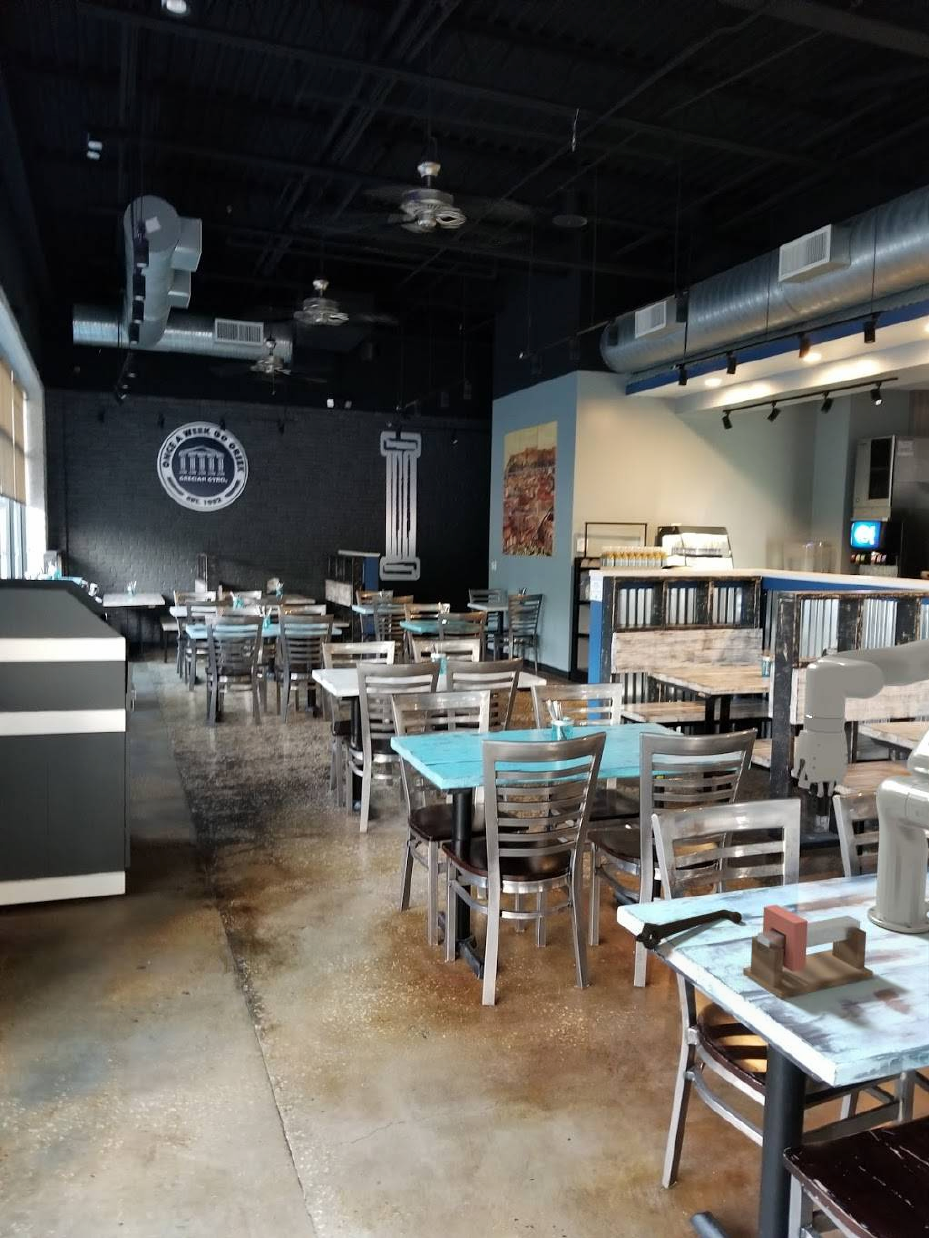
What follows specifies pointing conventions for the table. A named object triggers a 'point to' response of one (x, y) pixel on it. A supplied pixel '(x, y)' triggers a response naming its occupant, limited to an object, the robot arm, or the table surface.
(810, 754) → the robot arm
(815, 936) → the rod
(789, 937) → the salmon pink rectangular block
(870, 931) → the table surface
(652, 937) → the wrench
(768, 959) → the pipe stand
